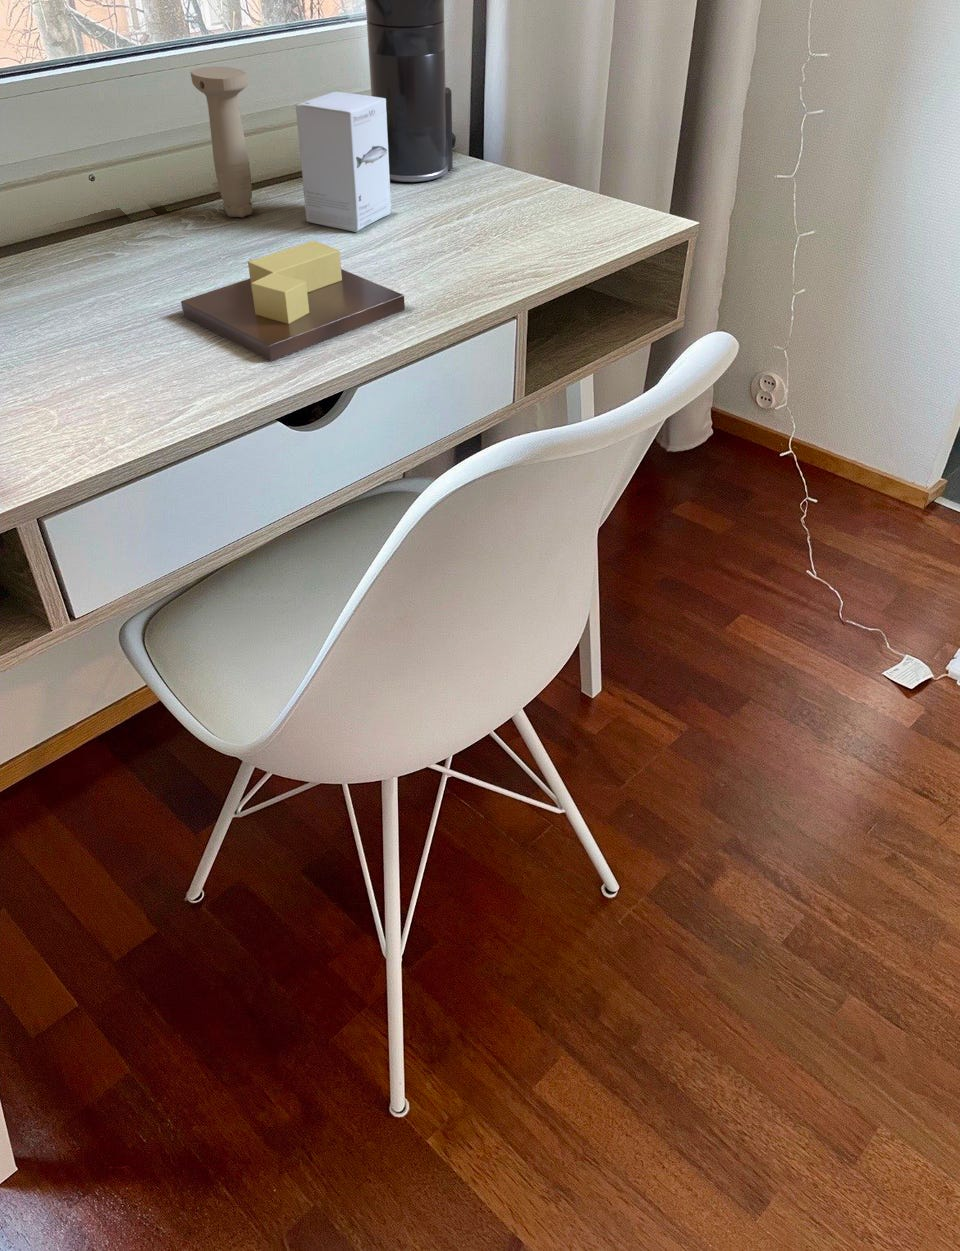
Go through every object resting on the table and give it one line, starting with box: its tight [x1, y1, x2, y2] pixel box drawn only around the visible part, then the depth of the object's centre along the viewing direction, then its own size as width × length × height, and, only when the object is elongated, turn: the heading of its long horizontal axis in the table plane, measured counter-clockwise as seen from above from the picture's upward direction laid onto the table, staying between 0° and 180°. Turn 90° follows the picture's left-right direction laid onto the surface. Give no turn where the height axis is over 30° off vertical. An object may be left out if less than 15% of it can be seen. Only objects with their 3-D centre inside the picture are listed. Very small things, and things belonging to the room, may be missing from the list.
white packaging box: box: [295, 91, 392, 233], centre depth 117 cm, size 7×7×13 cm
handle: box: [190, 66, 253, 218], centre depth 117 cm, size 5×6×15 cm
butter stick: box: [247, 239, 342, 293], centre depth 101 cm, size 8×4×3 cm, turn 136°
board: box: [180, 268, 406, 362], centre depth 100 cm, size 16×14×2 cm
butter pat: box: [251, 273, 309, 324], centre depth 96 cm, size 3×4×3 cm
